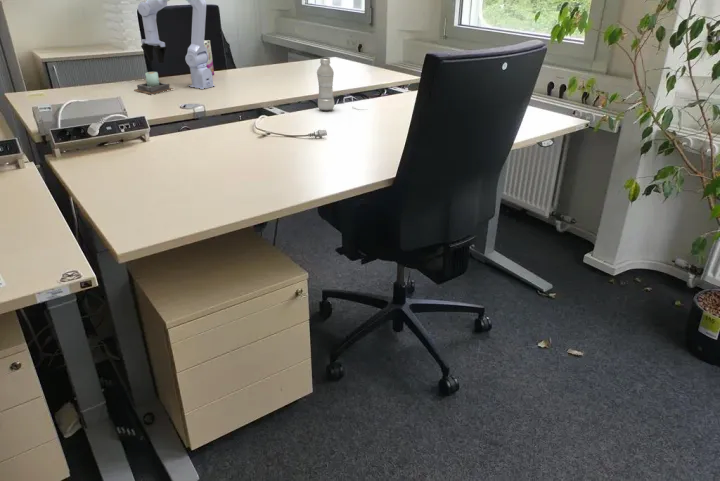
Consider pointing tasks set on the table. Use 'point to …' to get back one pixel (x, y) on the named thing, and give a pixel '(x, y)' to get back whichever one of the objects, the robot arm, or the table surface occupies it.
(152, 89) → the holder
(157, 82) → the roll
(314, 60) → the table surface
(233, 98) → the table surface
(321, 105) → the plastic bottle
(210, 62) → the candy bar box
